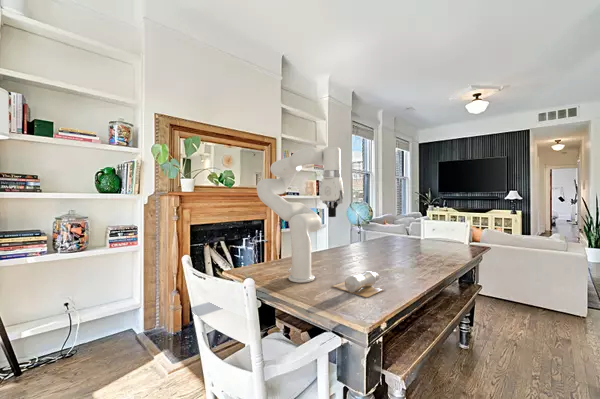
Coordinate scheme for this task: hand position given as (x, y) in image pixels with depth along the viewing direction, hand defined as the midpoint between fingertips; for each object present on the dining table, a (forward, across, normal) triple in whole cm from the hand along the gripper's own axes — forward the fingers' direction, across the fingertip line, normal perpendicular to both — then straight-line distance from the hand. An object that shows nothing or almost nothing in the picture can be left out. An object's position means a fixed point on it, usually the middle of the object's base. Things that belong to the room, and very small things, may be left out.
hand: (332, 216), depth 124 cm
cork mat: (+31, +9, +6) cm, 33 cm away
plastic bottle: (+27, +11, -2) cm, 29 cm away
